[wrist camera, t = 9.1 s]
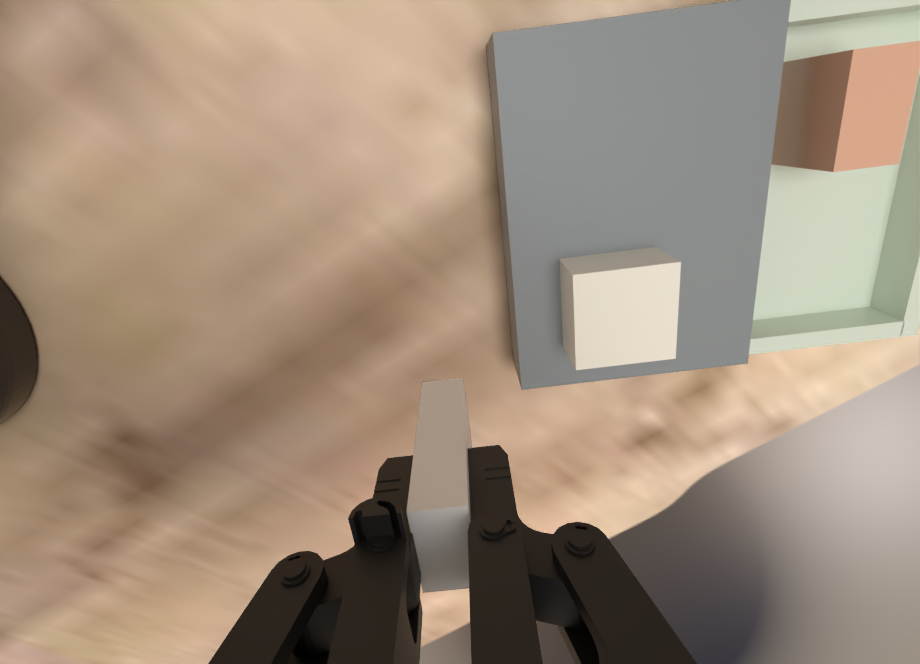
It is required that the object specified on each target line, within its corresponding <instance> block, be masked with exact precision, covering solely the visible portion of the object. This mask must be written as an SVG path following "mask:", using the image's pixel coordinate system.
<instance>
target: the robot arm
mask: <svg viewBox="0 0 920 664" xmlns="http://www.w3.org/2000/svg"><path fill="white" fill-rule="evenodd" d="M36 369H37V356H36V348H35V343H34V339H33V335H32V332H31V329H30V327H29V324H28V322H27V319H26V317H25V315H24V313H23V311H22V310H21V308H20V306H19V304H18V303H17V301H16V299H15V298H14V296H13V295H12V294H11V292H10V291H9V289H8V288H7V287H6V286H5V284H4V283H3V282H2V281H1V280H0V423H2V422H3V421H5V420H6V419H8V418H9V417H11V416H12V415H13V414H14V413H16V412H17V411H18V410H19V409H20V407H21V406H22V405H23V404H24V403H25V401H26V400H27V398H28V396H29V394H30V392H31V390H32V388H33V385H34V381H35V377H36ZM376 482H377V484H376V486H375V490H374V495H373V498H372V499H368V500H366V501H364V502H362V503H360V504H359V505H358V506H357V507H356V508H354V509H353V510H352V512H351V514H350V516H349V518H348V520H349V524H350V527H351V531H352V535H353V539H354V542H355V545H354V547H352V548H351V549H349V550H348V551H346V552H344V553H342V554H340V555H337V556H334V557H331V558H329V559H326V560H322V558H321V557H320V556H319V555H318V554H317V553H314V552H311V551H303V552H297V553H294V554H292V555H289V556H287V557H286V558H284V559H283V560H281V561H280V562H279V563H278V564H277V565H276V566H275V567H274V568H273V569H272V570H271V572H270V573H269V575H268V576H267V578H266V579H265V581H264V582H263V584H262V585H261V587H260V588H259V590H258V591H257V592H256V594H255V595H254V597H253V598H252V600H251V601H250V603H249V604H248V606H247V607H246V609H245V610H244V612H243V613H242V615H241V616H240V618H239V619H238V621H237V622H236V624H235V625H234V627H233V628H232V629H231V631H230V632H229V634H228V635H227V637H226V638H225V640H224V641H223V643H222V644H221V646H220V647H219V649H218V650H217V652H216V653H215V655H214V656H213V658H212V659H211V661H210V662H209V664H419V660H420V644H421V628H422V606H421V601H420V584H421V585H422V589H423V593H424V592H435V591H445V590H455V589H465V588H469V592H470V624H471V655H472V664H543V663H542V656H541V650H540V644H539V638H538V632H537V625H536V620H537V621H541V622H546V623H550V624H555V625H558V628H559V631H560V633H561V635H562V637H563V639H564V641H565V643H566V645H567V648H568V649H569V652H570V654H571V656H572V658H573V660H574V662H575V664H697V663H696V662H695V660H694V659H693V658H692V656H691V655H690V653H689V652H688V650H687V649H686V648H685V646H684V645H683V643H682V642H681V641H680V639H679V638H678V636H677V635H676V634H675V632H674V631H673V629H672V628H671V627H670V625H669V624H668V623H667V621H666V619H665V618H664V617H663V615H662V614H661V612H660V611H659V610H658V608H657V607H656V605H655V604H654V603H653V601H652V600H651V598H650V597H649V596H648V594H647V593H646V591H645V590H644V589H643V587H642V586H641V584H640V583H639V582H638V580H637V579H636V577H635V576H634V575H633V573H632V572H631V570H630V569H629V568H628V566H627V565H626V563H625V562H624V561H623V559H622V558H621V556H620V555H619V553H618V552H617V551H616V549H615V548H614V546H613V545H612V544H611V542H610V541H609V539H608V538H607V537H606V535H605V534H604V533H603V532H602V531H601V530H600V529H598V528H597V527H594V526H592V525H590V524H587V523H581V522H574V523H567V524H565V525H563V526H561V527H559V528H558V529H557V530H556V532H555V533H554V534H548V533H542V532H539V531H535V530H533V529H531V528H529V527H527V526H526V525H525V524H524V523H522V521H521V520H520V518H519V517H518V514H517V510H516V503H515V497H514V491H513V485H512V479H511V473H510V467H509V461H508V455H507V453H506V452H505V451H504V450H503V449H502V448H501V447H500V445H495V446H486V447H477V448H472V442H471V433H470V426H469V418H468V411H467V403H466V396H465V388H464V381H463V378H454V379H445V380H437V381H428V382H422V388H421V396H420V404H419V413H418V421H417V429H416V437H415V445H414V454H413V456H403V457H394V458H388V459H387V460H386V461H385V462H384V464H383V465H382V466H381V468H380V469H379V472H378V476H377V481H376Z"/></svg>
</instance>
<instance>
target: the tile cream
mask: <svg viewBox="0 0 920 664" xmlns="http://www.w3.org/2000/svg"><path fill="white" fill-rule="evenodd" d="M559 261H560V284H561V308H562V331H563V346H564V348H565V350H566V352H567V354H568V356H569V358H570V360H571V362H572V364H573V366H574V368H575V370H583V369H592V368H600V367H609V366H617V365H626V364H634V363H643V362H651V361H660V360H669V359H676V344H677V326H678V308H679V290H680V272H681V262H680V261H679V260H677V259H675V258H674V257H672V256H670V255H669V254H667V253H665V252H664V251H662V250H660V249H659V248H657V247H651V248H643V249H635V250H627V251H619V252H610V253H602V254H594V255H586V256H578V257H570V258H562V259H559Z"/></svg>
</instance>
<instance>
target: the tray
mask: <svg viewBox="0 0 920 664" xmlns="http://www.w3.org/2000/svg"><path fill="white" fill-rule="evenodd" d="M914 41H920V0H791V4H790V12H789V21H788V29H787V37H786V46H785V54H784V62H787V61H793V60H798V59H804V58H809V57H815V56H820V55H826V54H831V53H837V52H842V51H848V50H853V49H861V48H868V47H876V46H884V45H891V44H899V43H906V42H914ZM919 325H920V69H919V73H918V78H917V83H916V87H915V92H914V97H913V101H912V106H911V111H910V115H909V120H908V125H907V129H906V134H905V139H904V143H903V148H902V153H901V157H900V162H899V164H894V165H886V166H878V167H870V168H862V169H855V170H847V171H839V172H828V171H820V170H812V169H804V168H796V167H788V166H781V165H773V164H771V172H770V180H769V188H768V197H767V205H766V214H765V222H764V230H763V239H762V247H761V256H760V264H759V272H758V281H757V289H756V298H755V306H754V314H753V323H752V331H751V340H750V348H749V355H750V354H759V353H767V352H776V351H784V350H793V349H802V348H810V347H819V346H827V345H836V344H844V343H853V342H862V341H870V340H879V339H887V338H896V337H904V336H913V335H917V332H918V329H919Z"/></svg>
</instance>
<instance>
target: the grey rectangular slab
mask: <svg viewBox="0 0 920 664" xmlns="http://www.w3.org/2000/svg"><path fill="white" fill-rule="evenodd" d="M790 4H791V0H736V1H728V2H721V3H714V4H706V5H699V6H691V7H684V8H677V9H669V10H662V11H654V12H647V13H639V14H632V15H625V16H617V17H610V18H602V19H595V20H587V21H580V22H573V23H565V24H558V25H550V26H543V27H535V28H528V29H521V30H513V31H506V32H498V33H493V34H492V36H491V38H490V40H489V42H488V44H487V46H486V51H487V62H488V74H489V85H490V97H491V108H492V120H493V131H494V143H495V154H496V166H497V177H498V189H499V201H500V212H501V224H502V235H503V247H504V258H505V270H506V281H507V293H508V304H509V316H510V327H511V339H512V350H513V360H514V364H515V367H516V371H517V375H518V378H519V382H520V385H521V389H522V390H524V389H532V388H541V387H550V386H558V385H567V384H575V383H584V382H593V381H601V380H610V379H618V378H627V377H635V376H644V375H653V374H661V373H670V372H678V371H687V370H696V369H704V368H713V367H721V366H730V365H739V364H747V363H748V356H749V348H750V340H751V331H752V323H753V314H754V306H755V298H756V289H757V281H758V272H759V264H760V256H761V247H762V239H763V230H764V222H765V214H766V205H767V197H768V188H769V180H770V172H771V163H772V155H773V146H774V138H775V130H776V121H777V113H778V104H779V96H780V88H781V79H782V71H783V62H784V54H785V46H786V37H787V29H788V21H789V12H790ZM651 247H657V248H659V249H660V250H662V251H664V252H665V253H667V254H669V255H670V256H672V257H674V258H675V259H677V260H679V261H680V262H681V272H680V290H679V308H678V326H677V344H676V359H669V360H660V361H651V362H643V363H634V364H626V365H617V366H609V367H600V368H592V369H583V370H575V368H574V366H573V364H572V362H571V360H570V358H569V356H568V354H567V352H566V350H565V348H564V346H563V331H562V308H561V284H560V261H559V259H562V258H570V257H578V256H586V255H594V254H602V253H610V252H619V251H627V250H635V249H643V248H651Z"/></svg>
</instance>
